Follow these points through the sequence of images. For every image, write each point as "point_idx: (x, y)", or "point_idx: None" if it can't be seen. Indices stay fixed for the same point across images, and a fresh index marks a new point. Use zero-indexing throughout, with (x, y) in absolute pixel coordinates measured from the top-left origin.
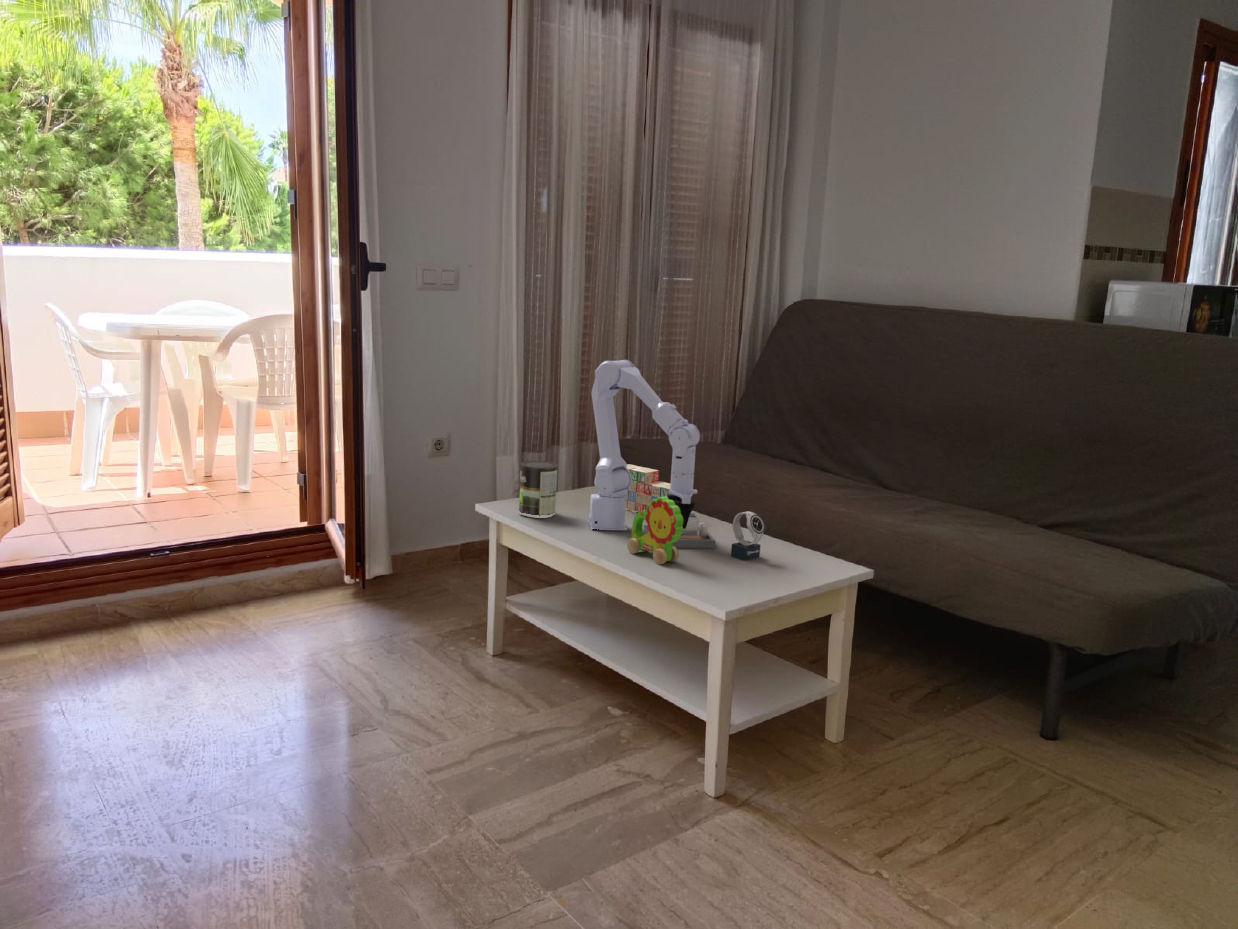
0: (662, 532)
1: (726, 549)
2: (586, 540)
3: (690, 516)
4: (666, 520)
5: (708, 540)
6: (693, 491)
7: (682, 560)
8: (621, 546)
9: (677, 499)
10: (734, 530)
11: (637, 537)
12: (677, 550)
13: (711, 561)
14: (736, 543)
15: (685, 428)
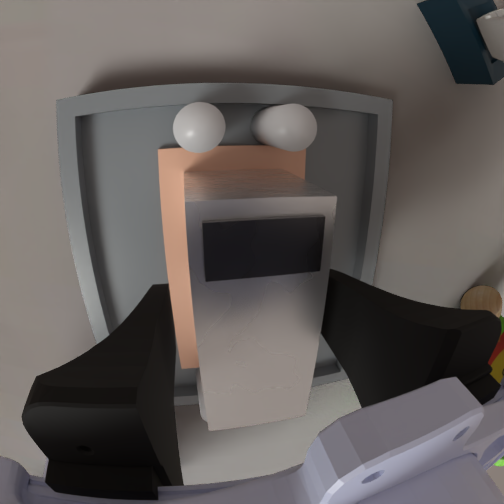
0: None
1: (379, 53)
2: (255, 476)
3: (318, 270)
4: None
5: (390, 137)
6: (462, 446)
7: (468, 266)
8: (317, 422)
9: (170, 451)
10: None
11: None
12: (501, 300)
13: (489, 178)
14: (490, 63)
15: None
